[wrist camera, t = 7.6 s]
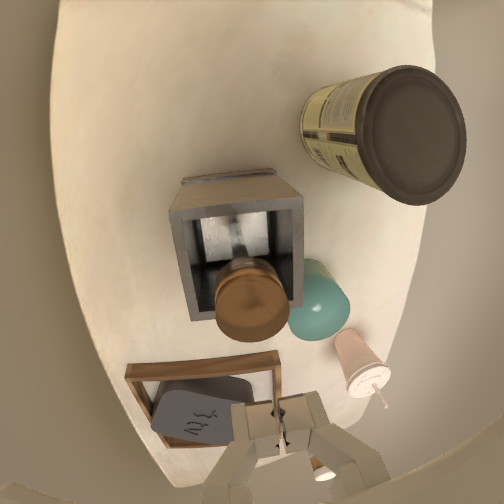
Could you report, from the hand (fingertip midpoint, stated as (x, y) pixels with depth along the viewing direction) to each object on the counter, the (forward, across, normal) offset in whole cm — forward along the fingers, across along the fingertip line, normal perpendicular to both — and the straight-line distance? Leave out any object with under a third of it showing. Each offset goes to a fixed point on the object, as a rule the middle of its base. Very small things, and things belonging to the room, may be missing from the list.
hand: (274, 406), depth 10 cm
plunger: (+20, 0, 0) cm, 20 cm away
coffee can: (+24, -13, -9) cm, 29 cm away
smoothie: (+24, -15, +21) cm, 36 cm away
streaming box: (+25, +9, +30) cm, 40 cm away
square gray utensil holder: (+24, 0, 0) cm, 24 cm away
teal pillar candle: (+24, -8, +10) cm, 27 cm away
